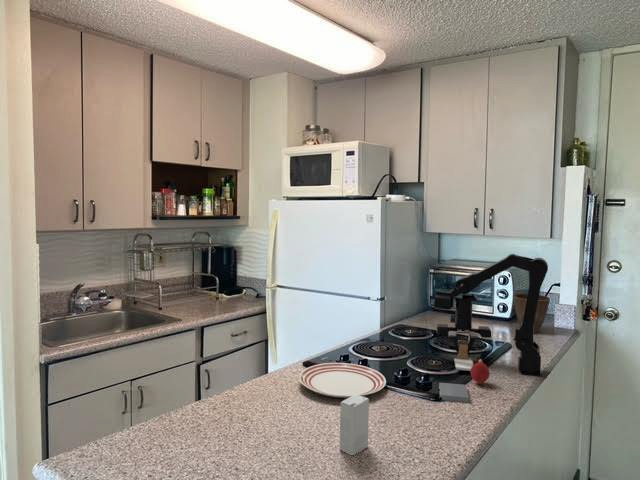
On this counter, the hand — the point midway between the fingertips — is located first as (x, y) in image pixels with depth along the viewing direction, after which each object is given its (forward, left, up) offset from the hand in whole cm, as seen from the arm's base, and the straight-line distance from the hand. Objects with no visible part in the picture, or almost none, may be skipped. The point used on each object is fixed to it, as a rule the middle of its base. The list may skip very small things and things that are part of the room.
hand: (462, 353), depth 175 cm
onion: (-4, +20, -4) cm, 21 cm away
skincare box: (+30, +70, -4) cm, 76 cm away
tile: (+5, +26, -3) cm, 27 cm away
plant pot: (-34, -52, -4) cm, 62 cm away
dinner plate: (+39, +32, -4) cm, 51 cm away
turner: (0, +5, -2) cm, 5 cm away
